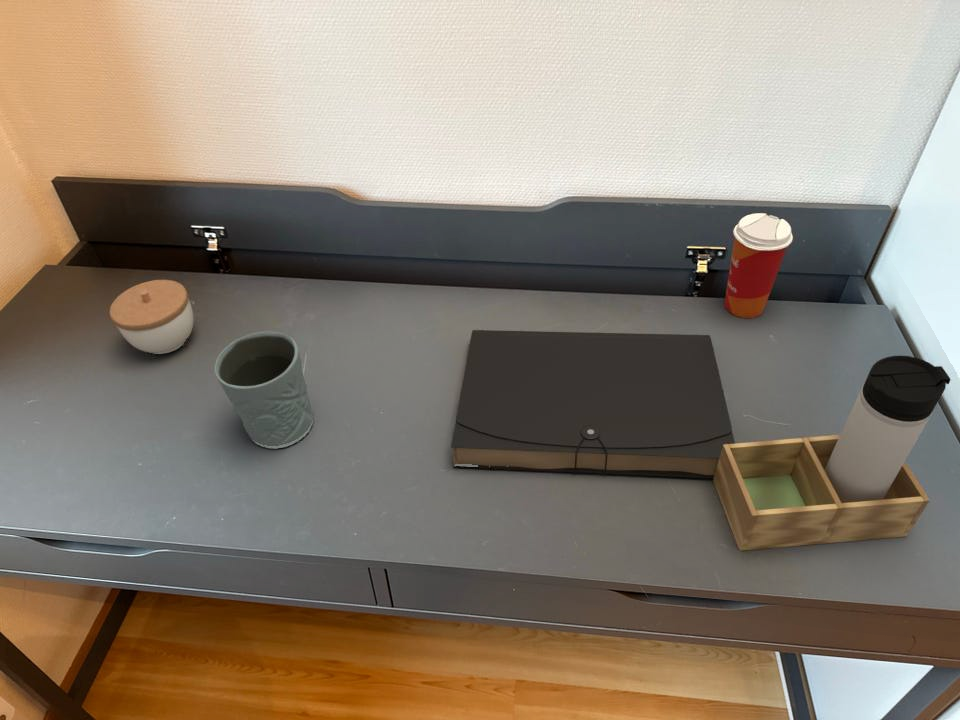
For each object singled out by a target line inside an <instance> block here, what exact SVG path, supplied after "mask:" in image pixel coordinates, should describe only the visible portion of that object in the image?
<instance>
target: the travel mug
mask: <svg viewBox="0 0 960 720" xmlns="http://www.w3.org/2000/svg"><path fill="white" fill-rule="evenodd" d="M950 383H951V378H950V376H949V375H948V373H947V371H946V370H945V369H944V367H943V366H942V365H938V366H935V365H934V364H933V363H930V362H928V361H926V360H924V359H921V358H918V357H916V356H910V355H891V356H887V357H883V358H881V359H879V360H877V361H876V362H875V363H874V364H873V365H872V366H871V368H870V370H869V373H868V374H867V376H866V379H865V381H864V383H863V384H862V386H861V389H860V391H859V392H858V395H857V397H856V399H855V401H854V404H853V405H852V408H851V410H850V412H849V415H848V417H847V419H846V422H845V424H844V426H843V428H842V430H841V433H840V434H839V435H840V437H839V439H838V441H837V443H836V446H835V448H834V450H833V452H832V454H831V457H830V459H829V461H828V463H827V465H826V468H825V470H824V471H825V473H826V475H827V477H828V478H829V480H830V482H831V484H832V486H833V488H834V490H835V492H836V494H837V495H838V497H839V499H840V501H841V503H850V502H862V501H873V500H883V498H884V497H885V495H886V493H887V491H888V490H889V488H890V486H891V484H892V483H893V481H894V479H895V477H896V476H897V474H898V472H899V470H900V469H901V467H902V465H903V463H904V462H906V460H907V458H908V457H909V455H910V453H911V451H912V450H913V448H914V446H915V445H916V442H917V441H918V439H919V438H920V435H921V434H922V432H923V430H924V428H925V427H926V425H927V423H928V421H929V420H930V419H931V417H932V415H933V413H934V410H935V408H936V405H937V404H938V403H939V401H940V399H941V397H942V396H943V394H944V393H945V390H946V386H947V385H949V384H950Z"/></svg>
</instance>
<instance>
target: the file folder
mask: <svg viewBox="0 0 960 720" xmlns="http://www.w3.org/2000/svg"><path fill="white" fill-rule="evenodd" d="M466 356H467V357H466V361H465V367H464V373H463V379H462V384H461V389H460V395H459V398H458V399H459V400H458V405H457V411H456V417H455V423H454V429H453V435H452V440H451V445H450V448H451V454H452V461H453V465H455V464H472V465H478V467H477V468H476V469H489V470H491V469H490V468H493V469H492V470H511V471H516V470H517V471H535V472H536V471H537V472H558V473H574V475H576V474H577V473H580V474H600V475H602V474H603V475H604V476H606V475H625V476H626V475H627V476H648V477H670V478H671V477H672V478H693V479H696V478H697V479H714V475H715V472H716V468H717V465H718V461H719V457H720V454H721V450H722V447H723V444H736V441H735V437H734V433H733V427H732V423H731V418H730V413H729V409H728V405H727V400H726V397H725V392H724V389H723V384H722V379H721V376H720V372H719V371H720V370H719V367H718V362H717V358H716V354H715V350H714V346H713V340H712V338H711V335H710V334H680V333H679V334H676V333H675V334H673V333H632V332H631V333H627V332H625V333H624V332H622V333H621V332H585V331H583V332H582V331H581V332H580V331H579V332H578V331H540V330H539V331H536V330H535V331H534V330H533V331H532V330H494V329H493V330H490V329H487V330H486V329H472V330H471V334H470V340H469V346H468V351H467V355H466ZM489 466H490V467H489ZM507 466H508V467H507Z"/></svg>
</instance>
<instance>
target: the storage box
mask: <svg viewBox="0 0 960 720" xmlns="http://www.w3.org/2000/svg"><path fill="white" fill-rule="evenodd" d="M840 435H841V434H832V435H822V436H821V435H820V436H808V437H797V438H795V437H794V438H784V439H773V440H772V439H771V440H761V441H750V442H738V443H736V442H735V444H723V447H722V450H721V454H720V457H719V461H718V465H717V468H716V472H715V475H714V478H712V479H713V480H712V482H713V485H714V487H715V489H716V492H717V495H718V498H719V499H720V503H721V506H722V509H723V511H724V514H725V516H726V519H727V522H728V524H729V527H730V529H731V532H732V535H733V538H734V540H735V543H736V546H737V548H738V551H739V552H741V551H753V550H766V549H777V548H788V547H789V548H790V547H799V546H800V547H801V546H810V545H823V544H835V543H847V542H857V541H858V542H859V541H871V540H880V539H881V540H882V539H893V538H894V539H895V538H905V537H908V536H909V534H910V533H911V531H912V529H913V527H914V526H915V525H916V523H917V521H918V520H919V518H920V517H921V515H922V514H923V512H924V511H925V509H926V507H927V506H928V504H929V503H930V501H931V500H930V497H929V496H928V495H927V493H926V492H925V490H924V489H923V487H922V485H921V484H920V482H919V481H918V479H917V478H916V476H915V474H914V473H913V472H912V470H911V469H910V467H909V465H908V463H907V462H906V461H905V462H904V463H903V465H902V467H901V469H900V470H899V472H898V474H897V476H896V477H895V479H894V481H893V483H892V484H891V486H890V488H889V490H888V491H887V493H886V495H885V497H884V498H883V500H873V501H862V502H850V503H841V501H840V499H839V497H838V495H837V494H836V492H835V490H834V488H833V486H832V484H831V482H830V480H829V478H828V477H827V475H826V473H825V471H824V470H825V468H826V465H827V463H828V461H829V459H830V457H831V454H832V452H833V450H834V448H835V446H836V443H837V441H838V439H839V437H840Z"/></svg>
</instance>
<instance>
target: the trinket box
mask: <svg viewBox="0 0 960 720" xmlns="http://www.w3.org/2000/svg"><path fill="white" fill-rule="evenodd" d="M109 316H110V319H111V321H112V322H113V324H114V326H115V327H116V328H117V330H118V331H119V333H120V334H121V336H122V337H123V339H125V341H127V343H129V345H131V346H132V347H134V348H135V349H137V350H139V351H141V352H144V353H148V352H149V354H151V353H158V352H164V351H168V350H171V349H173V348H175V347H177V346H179V345H180V344H182V343H183V342H184V341H185V340H186V339H187V338H188V339H189V337H190V335H191V334H192V331H193V328H194V323H195V322H194V321H195V317H194V310H193V307H192V303H191V301H190V299H189V294H188V291H187V289H186V288H185V286H184V285H182V284H181V283H180V282H178V281H175V280H171V279H154V280H149V281H145V282H141V283H139V284H136V285H134V286H132V287H129V288H128V289H126V290H125V291H122V292H121V293H120V294H119V295H118V296H117V297H116V298H115V299H114V301H112V304H111V305H110V307H109ZM188 339H187V340H188Z"/></svg>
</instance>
